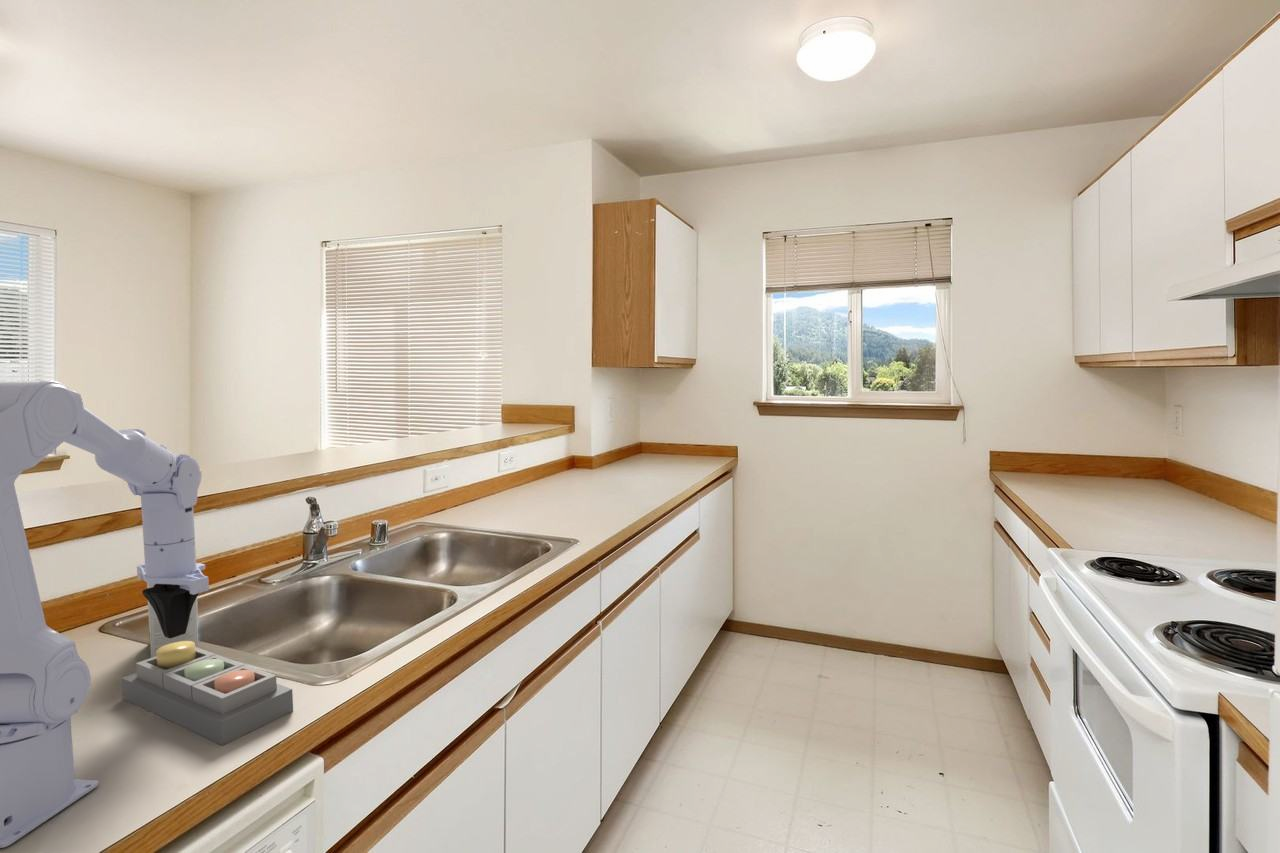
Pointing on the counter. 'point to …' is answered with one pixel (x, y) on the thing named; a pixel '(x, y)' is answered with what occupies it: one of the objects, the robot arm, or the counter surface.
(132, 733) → the counter surface
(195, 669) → the sage button
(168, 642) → the skincare box
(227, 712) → the button panel
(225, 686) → the salmon pink button
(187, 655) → the yellow rounded piece
